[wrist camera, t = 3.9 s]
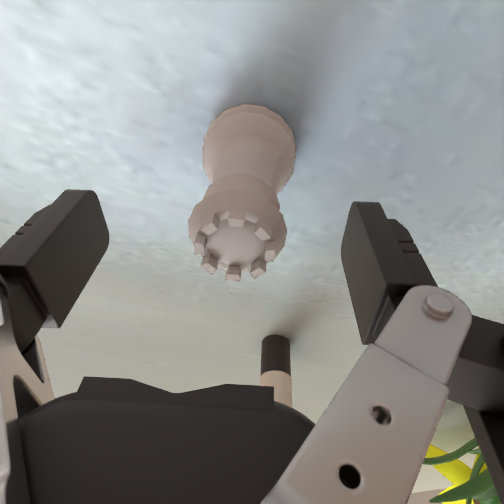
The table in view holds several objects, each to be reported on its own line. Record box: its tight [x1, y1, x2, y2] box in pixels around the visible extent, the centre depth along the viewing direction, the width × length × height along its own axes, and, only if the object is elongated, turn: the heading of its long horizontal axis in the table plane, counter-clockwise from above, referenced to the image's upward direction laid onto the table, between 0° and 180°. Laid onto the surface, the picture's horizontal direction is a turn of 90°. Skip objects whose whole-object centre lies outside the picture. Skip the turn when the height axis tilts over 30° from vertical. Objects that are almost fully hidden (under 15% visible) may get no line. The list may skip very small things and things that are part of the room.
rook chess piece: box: [188, 104, 296, 281], centre depth 13 cm, size 4×4×8 cm
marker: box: [260, 335, 292, 408], centre depth 21 cm, size 3×3×14 cm
